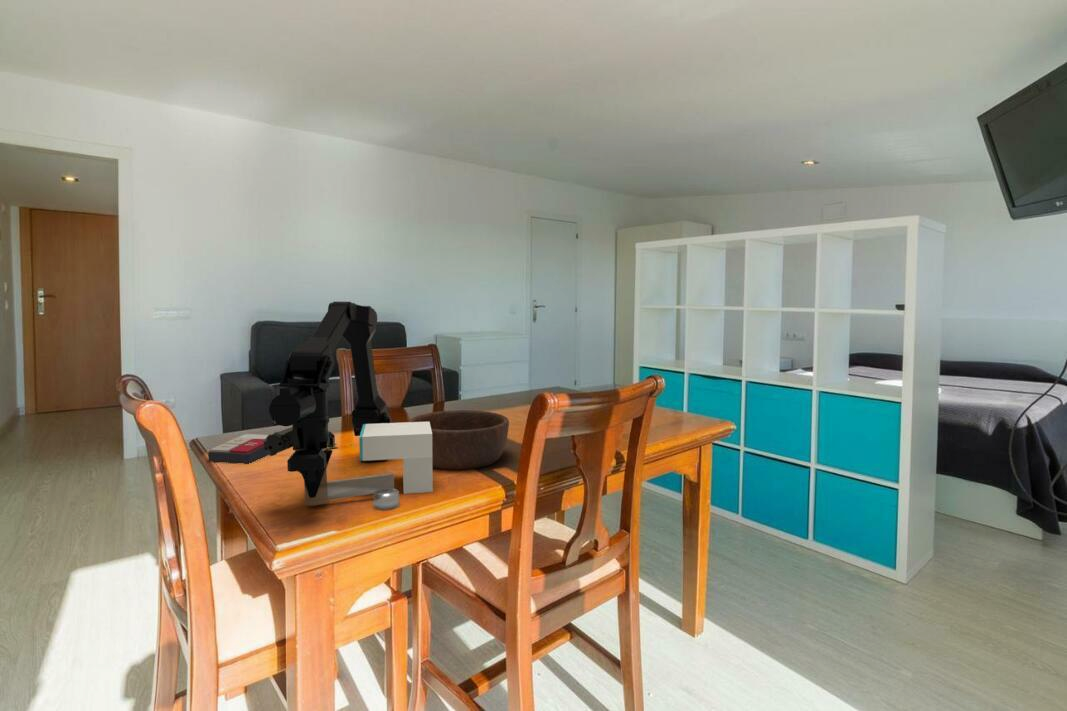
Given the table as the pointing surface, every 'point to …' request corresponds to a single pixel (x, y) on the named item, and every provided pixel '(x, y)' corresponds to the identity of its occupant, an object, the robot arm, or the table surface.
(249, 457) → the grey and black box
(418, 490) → the l-shaped block
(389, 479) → the grey mallet
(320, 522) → the table surface
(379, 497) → the steel puck
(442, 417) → the wooden bowl
